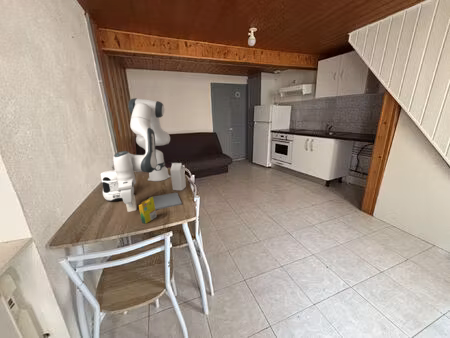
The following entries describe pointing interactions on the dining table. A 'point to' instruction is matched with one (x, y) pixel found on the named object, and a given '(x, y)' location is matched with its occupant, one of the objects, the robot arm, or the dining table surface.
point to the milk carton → (178, 176)
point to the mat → (166, 200)
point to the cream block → (132, 206)
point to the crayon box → (147, 210)
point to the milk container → (110, 186)
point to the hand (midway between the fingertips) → (131, 204)
